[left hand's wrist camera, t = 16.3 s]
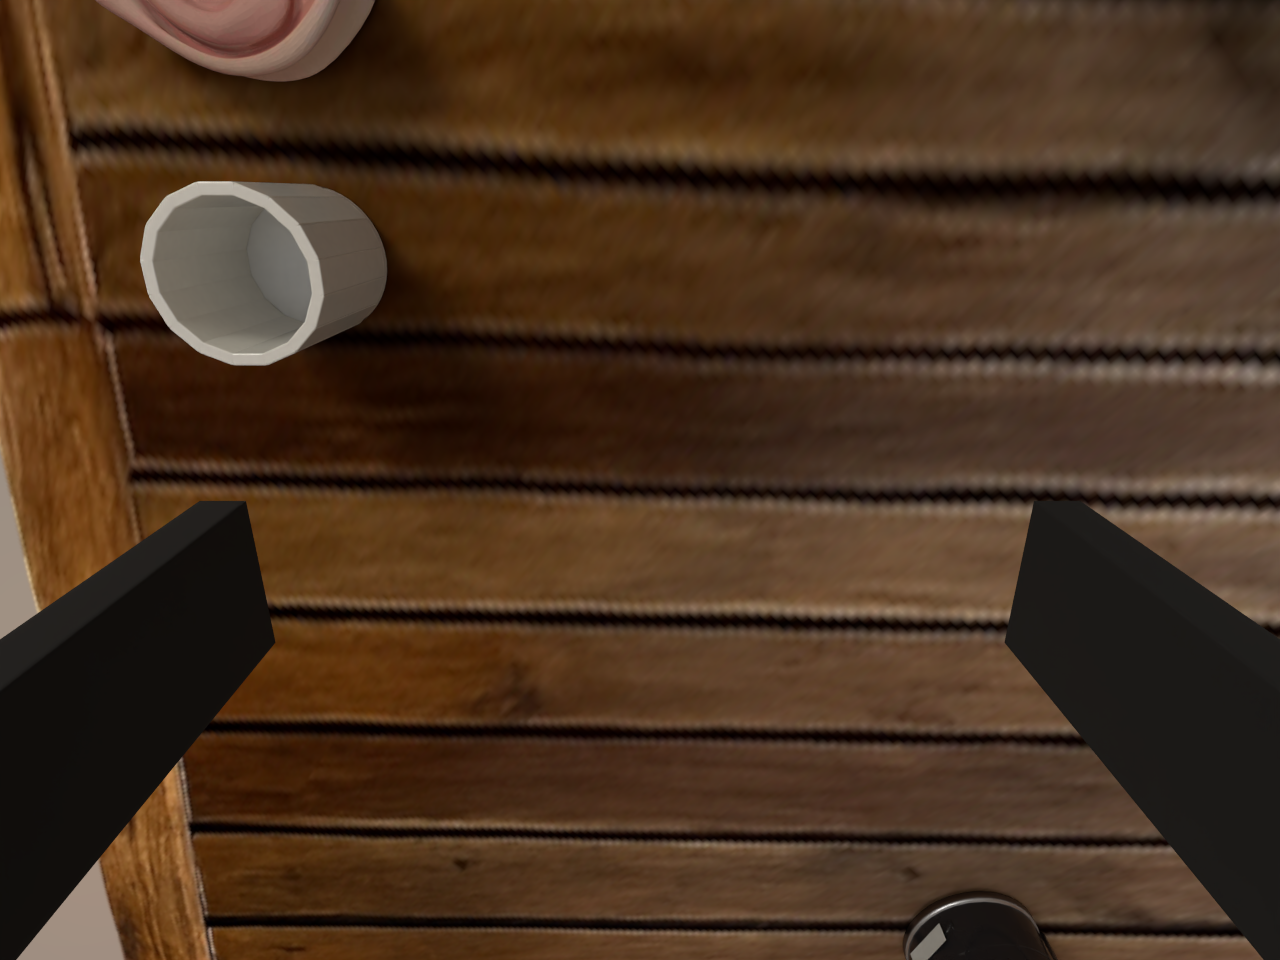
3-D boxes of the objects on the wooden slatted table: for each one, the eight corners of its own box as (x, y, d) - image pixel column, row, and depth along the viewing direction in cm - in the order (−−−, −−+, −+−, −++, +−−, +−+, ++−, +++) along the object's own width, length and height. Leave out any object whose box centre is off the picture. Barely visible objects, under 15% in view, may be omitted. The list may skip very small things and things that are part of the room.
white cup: (377, 184, 35) (307, 181, 28) (395, 332, 38) (334, 365, 30) (231, 184, 35) (120, 181, 28) (258, 332, 38) (164, 365, 30)
